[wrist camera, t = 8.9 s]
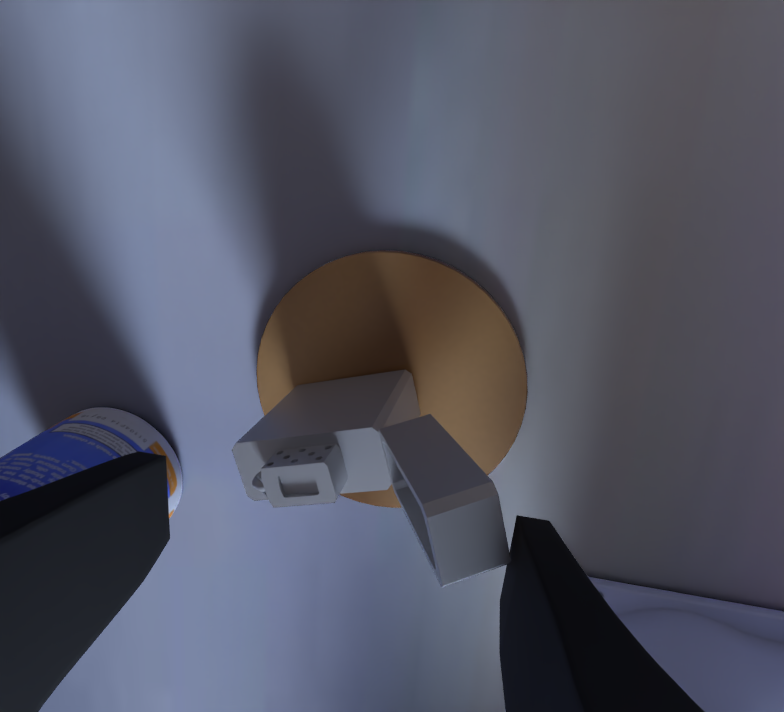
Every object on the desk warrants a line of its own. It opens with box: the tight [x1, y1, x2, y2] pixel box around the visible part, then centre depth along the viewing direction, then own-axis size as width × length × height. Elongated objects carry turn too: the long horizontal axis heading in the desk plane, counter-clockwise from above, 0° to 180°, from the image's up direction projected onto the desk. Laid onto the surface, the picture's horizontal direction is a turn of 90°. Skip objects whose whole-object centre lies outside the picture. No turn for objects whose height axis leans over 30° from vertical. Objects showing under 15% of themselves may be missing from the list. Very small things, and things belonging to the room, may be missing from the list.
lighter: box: [232, 370, 511, 587], centre depth 14 cm, size 7×2×8 cm, turn 103°
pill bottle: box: [0, 407, 183, 518], centre depth 16 cm, size 5×5×10 cm
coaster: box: [257, 250, 528, 508], centre depth 18 cm, size 9×9×1 cm
